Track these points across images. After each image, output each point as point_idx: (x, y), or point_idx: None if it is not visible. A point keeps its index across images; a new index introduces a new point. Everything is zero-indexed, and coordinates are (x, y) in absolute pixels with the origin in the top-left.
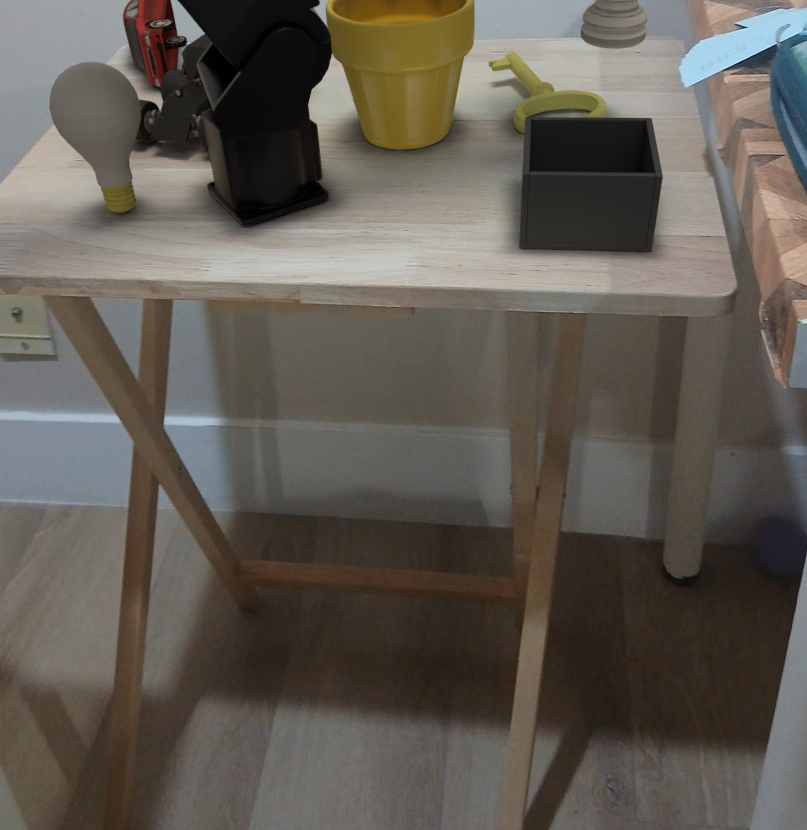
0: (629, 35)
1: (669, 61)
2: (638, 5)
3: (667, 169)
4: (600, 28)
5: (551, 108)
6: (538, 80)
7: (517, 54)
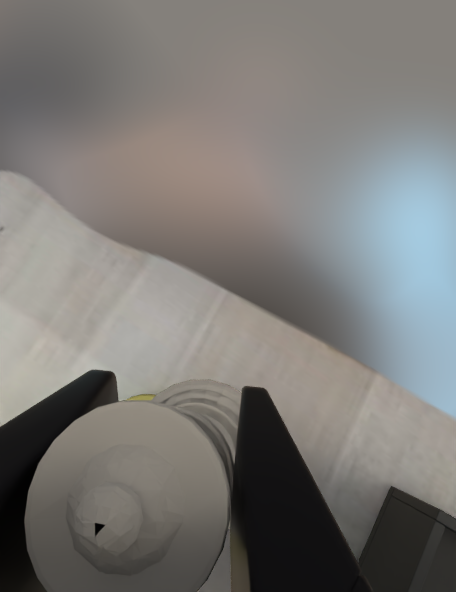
0: None
1: (53, 209)
2: (225, 409)
3: (349, 415)
4: None
5: None
6: None
7: None
